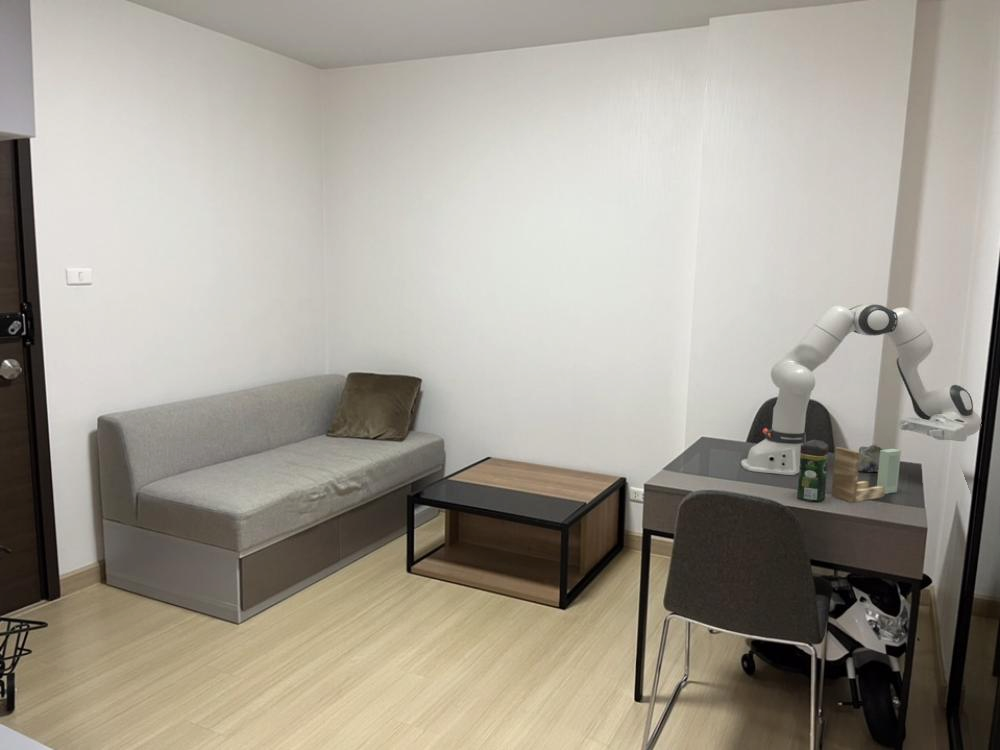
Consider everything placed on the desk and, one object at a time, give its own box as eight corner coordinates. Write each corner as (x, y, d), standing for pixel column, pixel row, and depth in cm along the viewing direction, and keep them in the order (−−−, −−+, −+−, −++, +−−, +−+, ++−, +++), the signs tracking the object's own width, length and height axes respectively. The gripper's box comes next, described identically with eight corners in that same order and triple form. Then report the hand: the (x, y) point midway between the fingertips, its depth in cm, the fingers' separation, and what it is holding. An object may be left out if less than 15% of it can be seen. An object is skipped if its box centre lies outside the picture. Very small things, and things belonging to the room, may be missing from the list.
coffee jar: (801, 491, 250) (806, 436, 247) (827, 496, 245) (832, 440, 243) (793, 499, 242) (798, 442, 239) (819, 504, 238) (824, 446, 235)
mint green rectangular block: (884, 494, 249) (888, 452, 247) (876, 491, 252) (880, 450, 250) (896, 491, 252) (901, 450, 250) (888, 489, 254) (892, 448, 252)
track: (850, 502, 240) (855, 453, 237) (831, 495, 246) (835, 447, 244) (883, 496, 246) (888, 448, 244) (864, 490, 253) (868, 443, 250)
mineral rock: (899, 473, 275) (902, 445, 274) (889, 478, 267) (892, 451, 266) (862, 465, 284) (864, 439, 282) (851, 471, 276) (854, 444, 275)
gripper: (915, 412, 268) (888, 415, 262) (972, 423, 250) (945, 427, 244) (914, 429, 269) (887, 433, 263) (970, 442, 251) (943, 446, 245)
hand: (915, 430), depth 254 cm, fingers open, 8 cm apart
